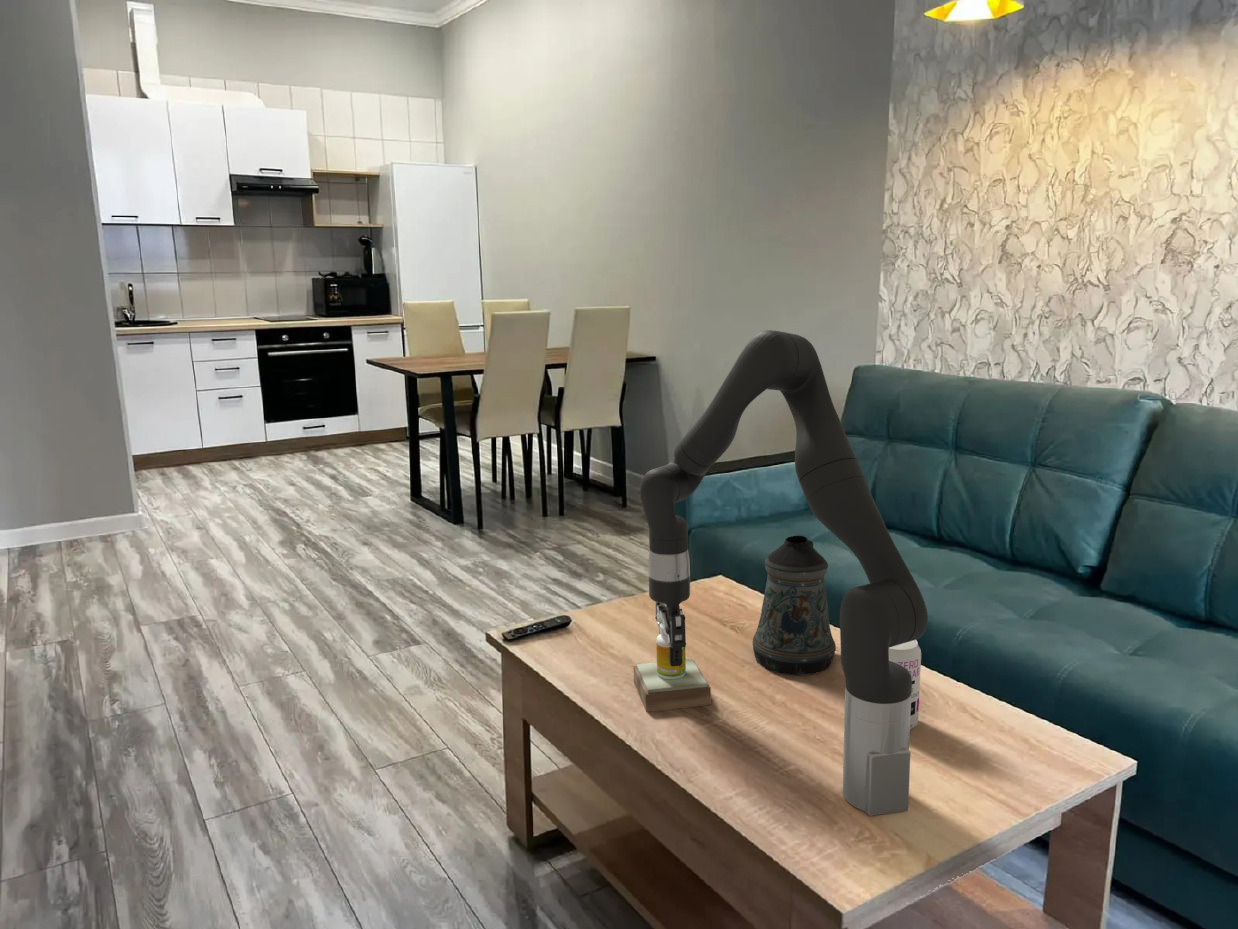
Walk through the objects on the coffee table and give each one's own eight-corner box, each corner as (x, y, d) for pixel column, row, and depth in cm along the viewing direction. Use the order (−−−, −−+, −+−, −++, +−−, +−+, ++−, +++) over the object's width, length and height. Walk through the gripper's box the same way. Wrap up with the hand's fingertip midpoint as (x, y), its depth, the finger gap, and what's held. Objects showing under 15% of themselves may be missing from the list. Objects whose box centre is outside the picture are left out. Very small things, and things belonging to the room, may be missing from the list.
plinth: (710, 705, 160) (710, 684, 159) (646, 712, 158) (645, 691, 157) (694, 676, 172) (694, 657, 171) (633, 682, 170) (633, 663, 169)
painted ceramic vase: (759, 677, 171) (759, 554, 165) (745, 637, 190) (745, 525, 184) (844, 675, 170) (847, 552, 165) (822, 635, 189) (824, 523, 184)
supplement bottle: (683, 681, 161) (683, 631, 159) (654, 679, 162) (653, 630, 160) (687, 668, 166) (686, 620, 164) (659, 666, 167) (658, 618, 165)
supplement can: (883, 706, 158) (886, 627, 155) (926, 721, 152) (930, 640, 149) (859, 722, 152) (861, 641, 149) (903, 739, 146) (907, 655, 143)
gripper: (699, 584, 154) (699, 670, 157) (679, 559, 167) (681, 639, 171) (657, 587, 153) (658, 674, 156) (641, 562, 166) (643, 642, 170)
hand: (670, 655), depth 163 cm, fingers open, 8 cm apart
